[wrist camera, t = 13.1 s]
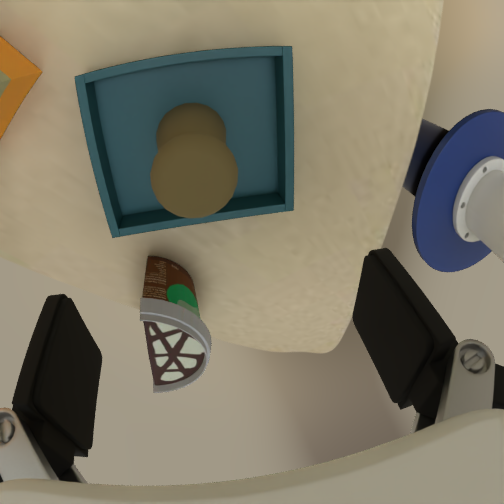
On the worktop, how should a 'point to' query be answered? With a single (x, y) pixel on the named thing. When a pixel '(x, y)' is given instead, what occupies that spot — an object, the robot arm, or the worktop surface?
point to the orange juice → (13, 81)
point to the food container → (173, 326)
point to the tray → (177, 93)
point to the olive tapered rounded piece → (193, 162)
